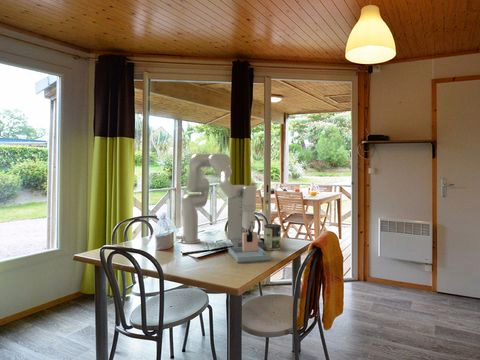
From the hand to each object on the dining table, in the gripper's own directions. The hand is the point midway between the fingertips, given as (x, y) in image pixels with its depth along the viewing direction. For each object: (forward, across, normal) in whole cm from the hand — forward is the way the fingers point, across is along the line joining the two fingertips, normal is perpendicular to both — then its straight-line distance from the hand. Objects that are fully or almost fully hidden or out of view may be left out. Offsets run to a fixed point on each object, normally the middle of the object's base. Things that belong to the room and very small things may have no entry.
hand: (248, 240), depth 186 cm
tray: (+9, 0, 0) cm, 9 cm away
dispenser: (+9, -18, +5) cm, 21 cm away
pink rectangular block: (+5, 0, +1) cm, 6 cm away
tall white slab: (+9, -42, +6) cm, 43 cm away
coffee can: (+9, -15, +20) cm, 27 cm away
